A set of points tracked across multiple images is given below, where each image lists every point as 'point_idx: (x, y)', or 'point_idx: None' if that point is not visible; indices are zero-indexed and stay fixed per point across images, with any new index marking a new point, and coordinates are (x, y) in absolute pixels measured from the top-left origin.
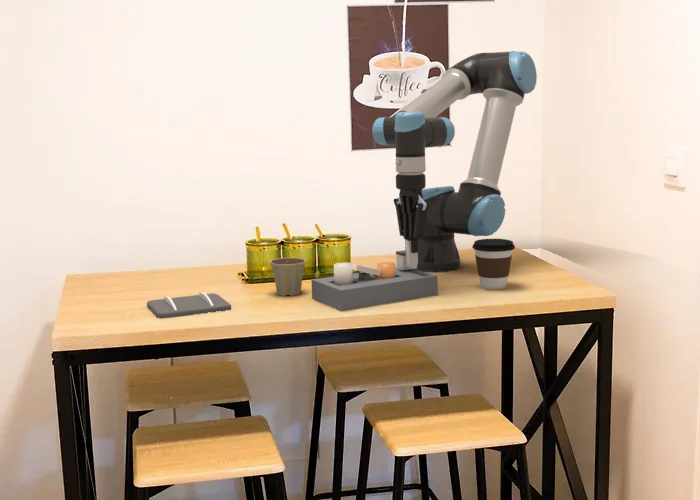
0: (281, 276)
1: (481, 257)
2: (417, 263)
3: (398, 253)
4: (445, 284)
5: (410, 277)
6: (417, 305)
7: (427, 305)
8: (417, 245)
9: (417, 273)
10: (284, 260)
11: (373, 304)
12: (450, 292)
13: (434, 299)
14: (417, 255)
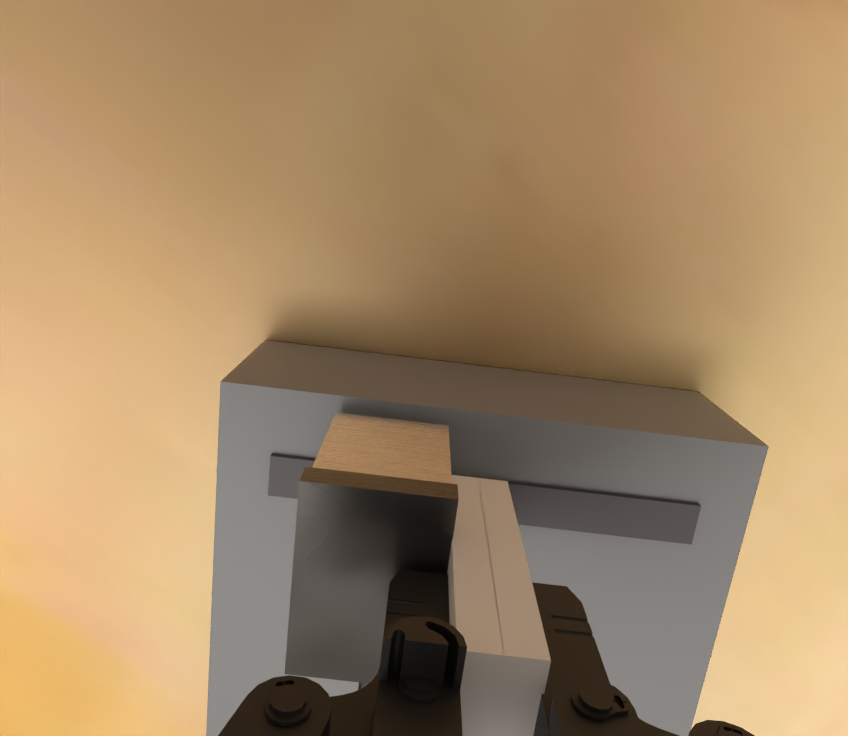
0: None
1: None
2: (507, 489)
3: (347, 671)
4: (477, 86)
5: (635, 643)
6: (789, 657)
7: (838, 618)
8: (597, 658)
9: (586, 530)
10: None
11: None
12: (710, 262)
13: (766, 488)
14: (518, 531)
